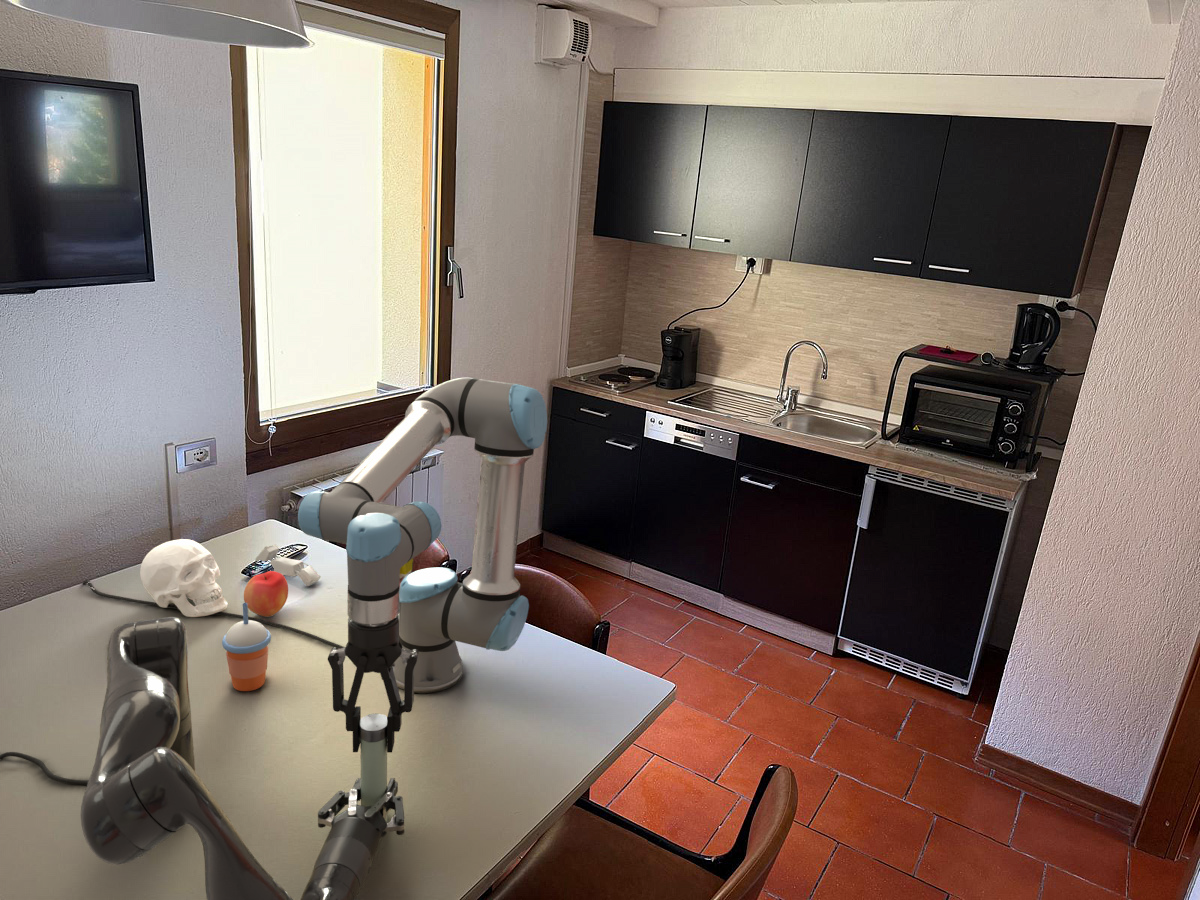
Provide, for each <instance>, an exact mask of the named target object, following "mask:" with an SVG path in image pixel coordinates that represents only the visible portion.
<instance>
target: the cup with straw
mask: <svg viewBox="0 0 1200 900" xmlns="http://www.w3.org/2000/svg"><path fill="white" fill-rule="evenodd" d="M242 615H243V619H242V620H240V621H238V622H236V623H234V624H233V625H232V626H230V627H229V629H228V630H227V632H226V633H225V634H224V635H223V637H222V640H221V645H222V647H223V649H224V650H225V656H226V661H227V667H228V673H229V675H230V679H231V684H232V687H233V688H234V690H236V691H240V692H250V691H251V692H252V691H255V690H258V689H259V688H261V687H262V686H263V685H264V684H265V682H266V675H267V669H268V660H269V644H270V643H271V641H272V634H271V632H270V631H269V630H268V629H267V628H266V627H265V626H264V625H263V623H261V622H257V621H253V620H248V617H249V609H248V605H247V603H245V602H243V603H242Z"/></svg>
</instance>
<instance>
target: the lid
mask: <svg viewBox="0 0 1200 900" xmlns="http://www.w3.org/2000/svg"><path fill="white" fill-rule="evenodd" d="M359 737H360V738H361V739H362V740H363V741H366V742H378V741H381V740H383V739H385V738H386V737H387V716H386V715H385V714H382V713H376V712H375V713H368V714H365V715H364V716H361V719H360V721H359Z"/></svg>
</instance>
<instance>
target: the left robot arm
mask: <svg viewBox="0 0 1200 900" xmlns="http://www.w3.org/2000/svg"><path fill="white" fill-rule="evenodd" d="M106 649H107V650H106V679H107V680H106V681H107V682H106V689H105V696H104V701H103V705H102V710H101V718H100V724H99V739H98V745H97V749H96V750H97V751H96V754H95V760H94V763H93V766H92V770H91V773H90V776H89V779H73V778H67V777H63V776H59V775H56V774H55V773H52V772H51V771H50V770H49V768H48V767H47V766H46V764H45V763H44V761H42V760H41V759H39V758H37V757H34V756H31V755H29V754H26V753H22V752H18V751H7V752H3V753H1V754H0V760H3V759H4V758H7V757H15V758H19V759H23V760H25V761H29V762H32V763H34V764H35V765H37V766H38V767H39V768H41V770H42V772H43V773H44V774H45V775H46V777H48V778H49V779H51V780H53V781H56V782H59V783H63V784H69V785H79V786H81V785H82V786H85V785H86V788H85V789H84V793H83V796H82V799H81V805H80V824H81V829H82V833H83V834H82V835H83V837H84V839H85V841H86V844H87V845H88V847H89V849H90V850H91V852H92V853H93V854H94V855H95V857H97V858H98V859H99V860H101V861H102V862H104V863H107V864H110V865H116V866H118V865H126V864H128V863H131V862H133V861H135V860H137V859H139V858H141V857H143V856H144V855H145V854H147V853H148V852H151V850H152V849H154V848H156V846H158V845H160V844H162V843H163V842H164V841H165V840H167V839H168V838H169V837H171V836H172V835H174V834H175V833H176V832H178V831H179V830H181V829H182V828H184V827H185V826H186V825H190V826H191V827H192V828H193V829H194V830H195V832H196V833H197V835H198V837H199V839H200V841H201V845H202V850H203V857H204V885H205V895H206V900H294V899H293V897H292V896H291V895H290V894H289V893H288V892H287V890H285V888H283V887H282V886H281V884H279V882H278V881H277V880H275V878H274V877H273V876H272V875H271V874H270V873H269V872H268V871H267V869H265V868H264V866H262V865H261V863H260V862H259V861H258V860H257V859H256V858H255V856H254V855H253V853H252V852H251V850H250V849H249V848H248V846H247V845H246V843H245V842H244V840H243V839H242V837H241V836H240V833H238V831H237V829H236V828H235V827H234V826H235V825H233V823H232V822H231V821H230V819H229V817H228V816H227V814H226V813H225V811H224V810H223V809H222V807H221V806H220V805H219V803H218V802H217V799H216V798H215V797H214V795H212V793H211V791H210V790H209V789H208V787H207V786H206V784H205V783H204V782H203V780H202V779H201V777H200V776H199V775H198V773H197V772H196V764H195V762H196V761H195V751H194V750H195V749H194V738H193V723H192V722H193V721H192V711H191V699H190V690H189V675H188V673H189V672H188V669H189V668H188V667H189V666H188V665H189V664H188V663H189V662H188V660H189V657H188V655H189V654H188V635H187V629H186V626H185V623H184V622H183V621H182V619H180V618H179V617H176V616H169V617H162V618H153V619H147V620H139V621H136V622H135V621H133V622H127V623H124V624H121V625H119V626H116V627H115V628H114V629H113V630H112V632H111V633H110V636H109V638H108V642H107V648H106ZM398 791H399V783H398V781H396V777H390V779H389V781H388V782H387V788H386V790H385V795H384V796H383V797H382V798H381V799H378V800H377V801H376V802H375V804H374V805H373V806H362V805H361V804H358V801H359V802H361V777H358V778H357V779H356V780H355V782H354V784H353V786H352V787H351V789H349V791H344V790H338V791H337V792H336V793H335V794H334V795H333V796H332V797H331V798H330V799H329V800H328V801H327V802H326V803H325V804H324V805H323V806H322V807H321V808H319V810H318V811H317V826H318V828H319V829H323V828H325V827H326V826H327V827H329V828H331V829H330V830H329V832H328V834H327V836H326V838H325V840H324V843H323V845H322V847H321V849H320V851H319V853H318V856H317V857H316V860H315V862H314V866H313V869H312V873H311V874H310V877H309V879H308V881H307V883H306V885H305V888H304V889H303V892H302V894H301V897H300V899H299V900H356V899H357V896H358V895H359V894H358V893H359V891H360V889H361V888H362V887H363V885H364V882H365V881H366V878H367V876H368V874H369V873H370V870H371V866H372V863H373V861H374V857H375V855H376V854H377V853H376V852H377V851H378V847H379V845H380V842H381V840H382V839H383V837H385V836H386V834H387V833H390V832H395V833H396V835H398V836H402V835H404V834H405V811H404V799H403V796H401V795H397V794H398ZM346 806H347V807H348V808H347V809H345V810H343V809H344V808H345V807H346ZM342 810H343V811H342ZM391 810H393V811H394V814H393V815H392V817H391V818H390V821H389V822H387V823H386V821H385V818H386V815H387V816H388V813H389V812H390V811H391ZM341 811H342V812H341ZM340 812H341V813H340Z"/></svg>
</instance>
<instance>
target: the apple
mask: <svg viewBox="0 0 1200 900" xmlns="http://www.w3.org/2000/svg"><path fill="white" fill-rule="evenodd" d="M288 597H289V584H288V581H287V579H286V577H285V575H282V574H281V573H278V572H275V571H268V570H267V571H266V572H264V573H259V574H255V575H254V576H253V577H251V578H250V579H249V580H248V582H247V583H246V585H245V587H244V590H243V601H244V603H247V605H248V611H250V612H252V613H253V614H255V615H257V616H261V617H265V618H269V617H273V616H275V615H276V614H278V613H279V612H280V611H281V610H282V609H283V607H284V606H285V605H286V603H287V600H288Z"/></svg>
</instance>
